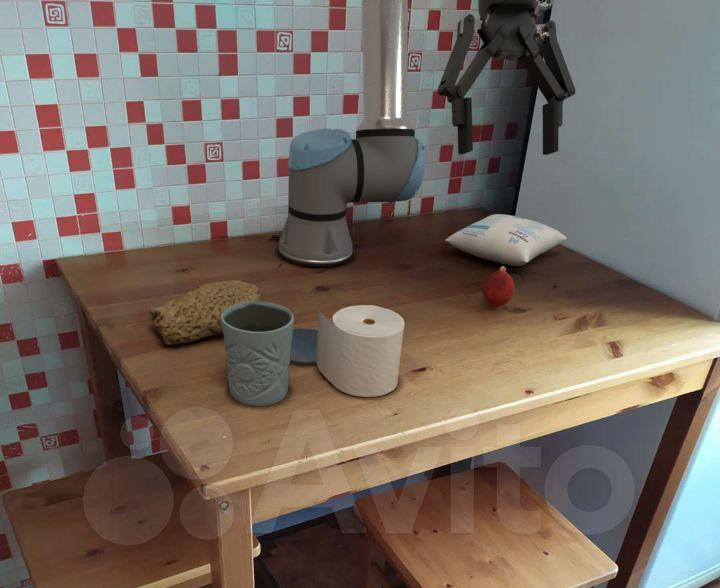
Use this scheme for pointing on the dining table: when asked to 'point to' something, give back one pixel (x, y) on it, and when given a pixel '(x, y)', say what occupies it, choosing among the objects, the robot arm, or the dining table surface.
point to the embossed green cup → (258, 351)
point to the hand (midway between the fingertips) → (508, 153)
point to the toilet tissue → (361, 349)
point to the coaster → (304, 347)
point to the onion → (498, 288)
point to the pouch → (506, 239)
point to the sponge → (200, 310)
